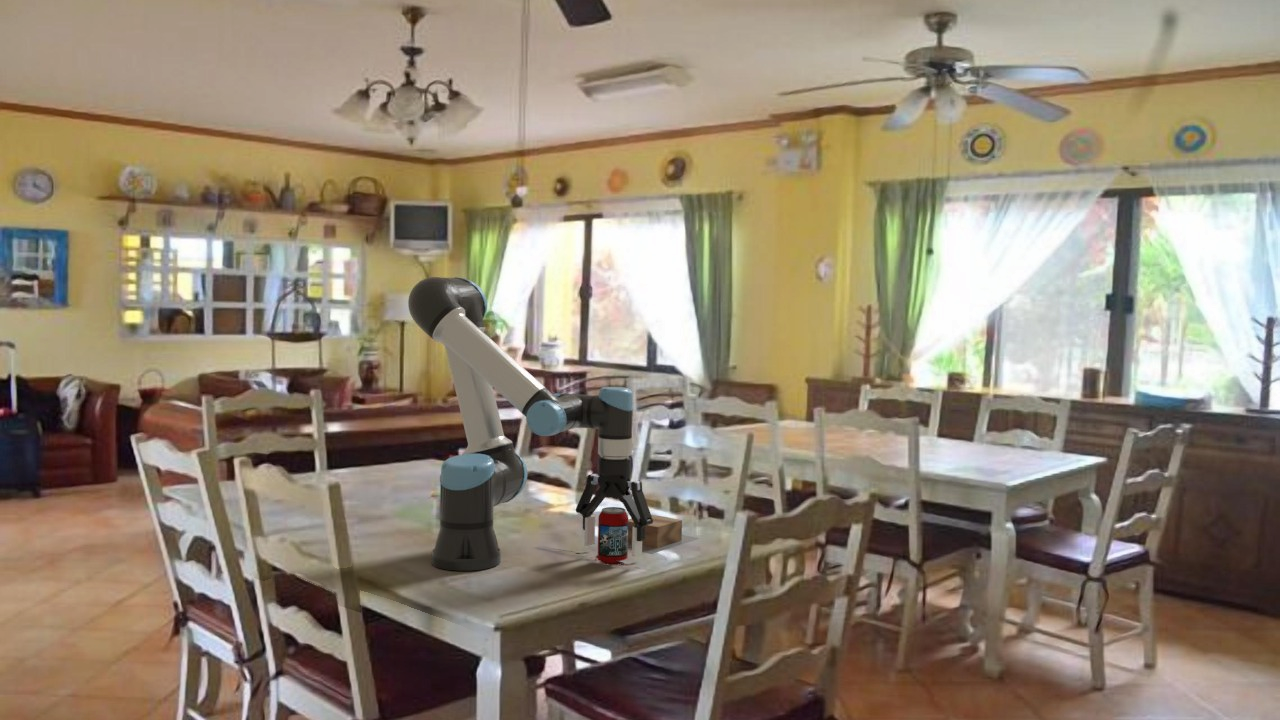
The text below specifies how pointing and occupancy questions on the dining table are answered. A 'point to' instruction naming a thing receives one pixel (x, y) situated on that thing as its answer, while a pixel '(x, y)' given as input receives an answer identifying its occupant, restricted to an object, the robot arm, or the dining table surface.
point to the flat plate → (653, 550)
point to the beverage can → (612, 535)
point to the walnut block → (659, 531)
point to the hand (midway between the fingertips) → (612, 550)
